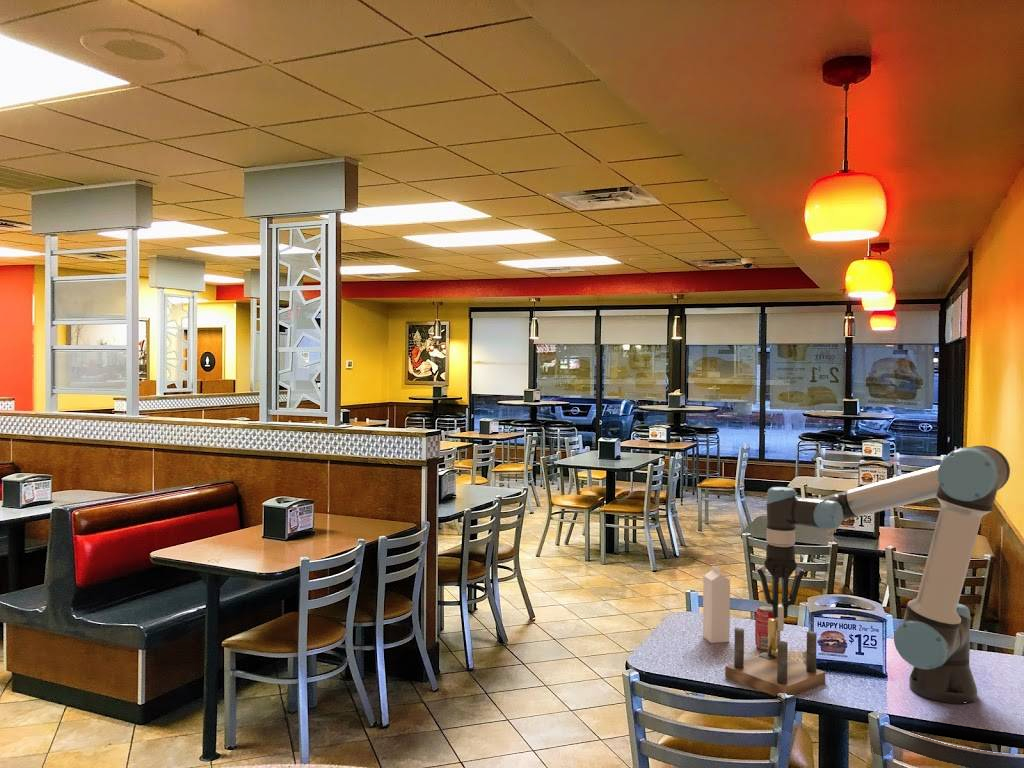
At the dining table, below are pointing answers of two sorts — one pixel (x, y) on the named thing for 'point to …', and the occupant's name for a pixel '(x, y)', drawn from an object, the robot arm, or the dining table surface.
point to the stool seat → (775, 668)
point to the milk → (716, 606)
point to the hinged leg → (772, 637)
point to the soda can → (763, 626)
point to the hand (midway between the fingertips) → (779, 629)
